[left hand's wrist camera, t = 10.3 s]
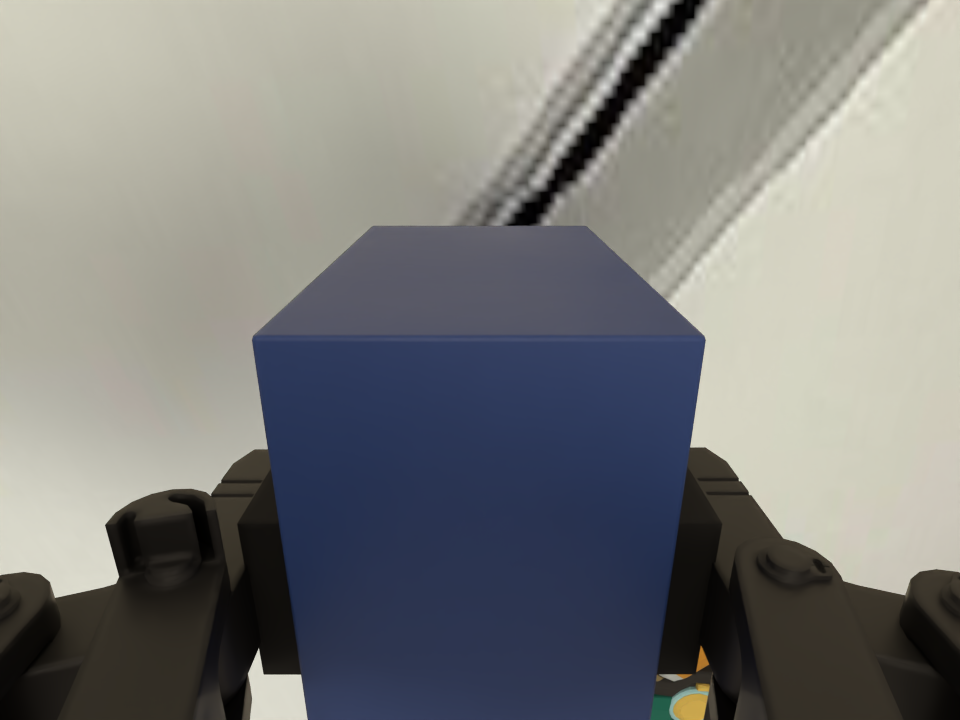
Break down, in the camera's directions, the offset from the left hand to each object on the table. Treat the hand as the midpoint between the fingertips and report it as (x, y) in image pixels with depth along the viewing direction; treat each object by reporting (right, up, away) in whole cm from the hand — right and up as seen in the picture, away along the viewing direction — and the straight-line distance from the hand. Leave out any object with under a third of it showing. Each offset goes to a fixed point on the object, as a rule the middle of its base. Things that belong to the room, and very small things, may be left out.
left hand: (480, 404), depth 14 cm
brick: (0, 0, +1) cm, 1 cm away
